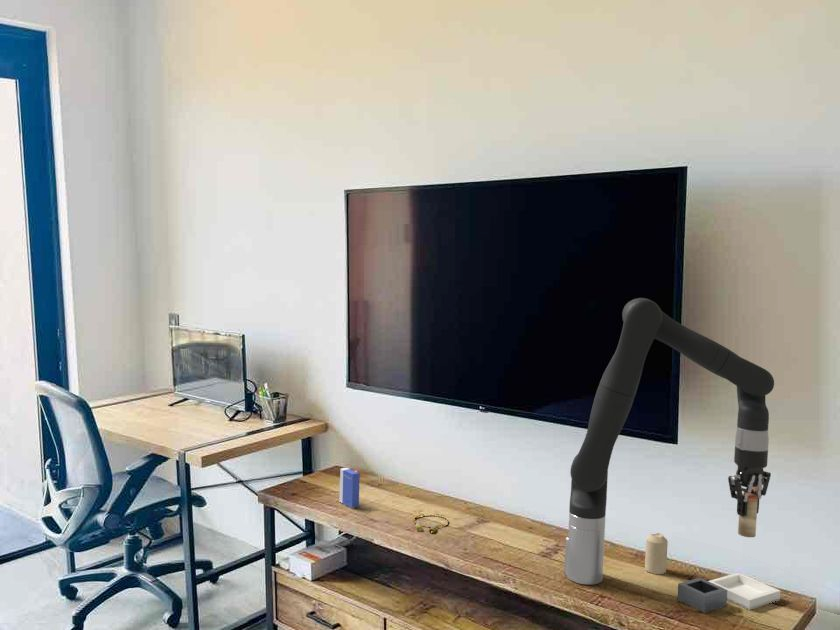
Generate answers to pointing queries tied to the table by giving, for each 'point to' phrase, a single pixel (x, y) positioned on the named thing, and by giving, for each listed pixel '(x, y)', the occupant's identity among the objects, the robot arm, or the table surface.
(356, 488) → the walkman
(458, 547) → the table surface
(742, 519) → the pin
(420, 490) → the table surface
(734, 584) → the tray
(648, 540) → the candle
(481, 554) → the table surface
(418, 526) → the beaded necklace
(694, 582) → the socket block
